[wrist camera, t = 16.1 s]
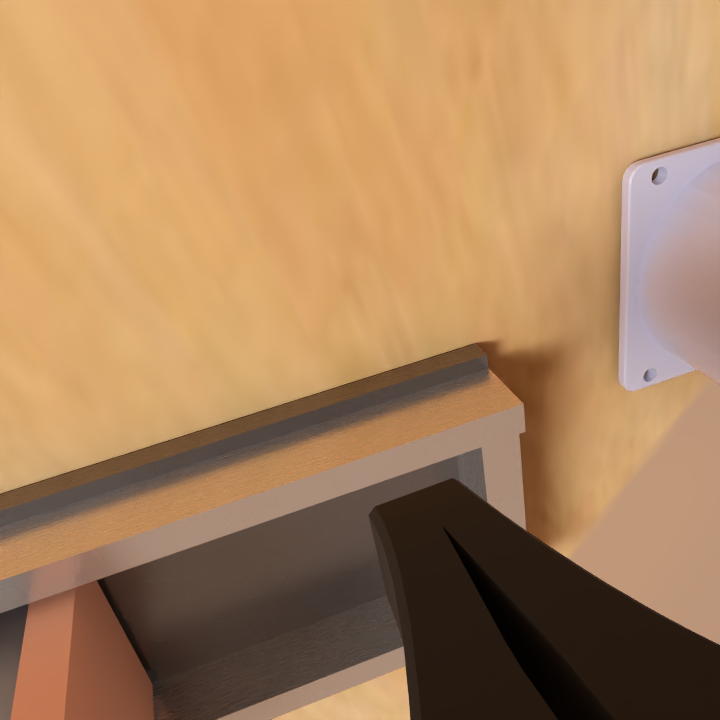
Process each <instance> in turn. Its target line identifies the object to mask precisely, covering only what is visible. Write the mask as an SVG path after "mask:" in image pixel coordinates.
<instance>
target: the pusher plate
mask: <svg viewBox="0 0 720 720" xmlns="http://www.w3.org/2000/svg"><path fill="white" fill-rule="evenodd" d="M10 720H154V708H153V684H152V682H151V681H150V679H149V677H148V675H147V673H146V671H145V669H144V668H143V666H142V664H141V662H140V660H139V658H138V656H137V655H136V653H135V651H134V649H133V647H132V645H131V643H130V642H129V640H128V638H127V636H126V634H125V632H124V630H123V629H122V627H121V625H120V623H119V621H118V619H117V617H116V616H115V614H114V612H113V610H112V608H111V606H110V604H109V603H108V601H107V599H106V597H105V595H104V593H103V591H102V590H101V588H100V586H99V584H98V582H97V580H95V581H92V582H90V583H87V584H84V585H81V586H78V587H75V588H72V589H69V590H66V591H64V592H61V593H58V594H55V595H52V596H49V597H46V598H43V599H40V600H37V601H35V602H32V603H29V607H28V613H27V619H26V625H25V632H24V638H23V644H22V650H21V657H20V663H19V669H18V675H17V682H16V688H15V694H14V700H13V707H12V713H11V719H10Z"/></svg>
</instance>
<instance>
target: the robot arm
mask: <svg viewBox="0 0 720 720" xmlns="http://www.w3.org/2000/svg"><path fill="white" fill-rule="evenodd" d="M657 168H658V175H657V177H656V178H655V179H654V180H653V181H652V174H653V172H654V171H655V170H656V169H657ZM647 370H648V372H647V373H646V374H645V372H646V371H647ZM694 370H698V371H700V372H701V373H703V374H704V375H706V376H708V377H709V378H711V379H712V380H714V381H715V382H717V383H718V384H720V138H717V139H714V140H710V141H707V142H703V143H700V144H696V145H692V146H689V147H685V148H682V149H678V150H675V151H671V152H668V153H664V154H660V155H657V156H653V157H650V158H646V159H643V160H639V161H636V162H634V163H632V164H631V165H630V166H629V167H628V168H627V170H626V171H625V173H624V175H623V181H622V221H621V273H620V324H619V375H618V379H619V383H620V385H621V386H622V387H624V388H625V389H626V390H628V391H636V390H639V389H642V388H645V387H648V386H651V385H654V384H657V383H660V382H663V381H665V380H668V379H671V378H674V377H677V376H680V375H683V374H686V373H689V372H692V371H694ZM644 374H645V375H644ZM369 520H370V524H371V529H372V533H373V537H374V542H375V546H376V550H377V555H378V559H379V564H380V568H381V572H382V577H383V581H384V585H385V590H386V594H387V599H388V602H389V604H390V607H391V610H392V612H393V615H394V617H395V620H396V623H397V626H398V629H399V632H400V635H401V638H402V641H403V646H404V655H405V665H406V674H407V684H408V693H409V705H410V719H411V720H720V645H719V644H717V643H715V642H713V641H710V640H708V639H707V638H705V637H703V636H701V635H699V634H697V633H695V632H692V631H691V630H689V629H687V628H685V627H683V626H681V625H679V624H678V623H676V622H674V621H672V620H670V619H668V618H666V617H665V616H663V615H661V614H659V613H657V612H655V611H654V610H652V609H650V608H648V607H646V606H645V605H643V604H641V603H640V602H638V601H636V600H634V599H633V598H631V597H629V596H628V595H626V594H624V593H623V592H621V591H619V590H617V589H616V588H614V587H612V586H611V585H609V584H607V583H606V582H604V581H602V580H601V579H599V578H598V577H595V576H594V575H593V574H591V573H589V572H588V571H586V570H585V569H583V568H582V567H580V566H579V565H577V564H575V563H574V562H572V561H571V560H569V559H568V558H566V557H565V556H563V555H562V554H560V553H559V552H557V551H556V550H554V549H553V548H551V547H549V546H548V545H546V544H545V543H543V542H542V541H541V540H539V539H538V538H536V537H535V536H533V535H532V534H530V533H529V532H527V531H526V530H525V529H523V528H522V527H520V526H519V525H518V524H516V523H515V522H513V521H512V520H511V519H509V518H508V517H506V516H505V515H504V514H502V513H501V512H500V511H498V510H497V509H495V508H494V507H493V506H491V505H490V504H489V503H487V502H486V501H485V500H483V499H482V498H481V497H479V496H478V495H477V494H475V493H474V492H473V491H472V490H470V489H469V488H468V487H466V486H465V485H464V484H462V483H461V482H460V481H458V480H456V479H454V478H451V479H448V480H446V481H443V482H440V483H437V484H435V485H432V486H429V487H426V488H424V489H421V490H418V491H416V492H413V493H410V494H407V495H405V496H402V497H399V498H397V499H394V500H391V501H388V502H386V503H383V504H380V505H377V506H375V507H374V508H373V510H372V511H371V512H370V514H369Z"/></svg>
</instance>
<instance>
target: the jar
mask: <svg viewBox="0 0 720 720" xmlns="http://www.w3.org/2000/svg"><path fill="white" fill-rule="evenodd" d="M28 607H29V604H26V605H23V606H20V607H17V608H14V609H11V610H9V611H6V612H3V613H0V720H10V719H11V713H12V707H13V700H14V694H15V688H16V682H17V675H18V669H19V663H20V657H21V650H22V644H23V638H24V632H25V625H26V619H27V613H28Z"/></svg>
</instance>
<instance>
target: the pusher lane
mask: <svg viewBox="0 0 720 720" xmlns="http://www.w3.org/2000/svg"><path fill="white" fill-rule="evenodd" d="M524 432H526V431H525V416H524V404H523V403H522V402H521V401H520V400H519V398H518V397H517V396H516V395H515V394H514V393H513V392H512V391H511V390H510V389H509V388H508V387H507V386H506V385H505V384H504V383H503V382H502V381H501V380H500V379H499V378H498V377H497V376H496V375H495V374H494V373H493V372H492V371H491V370H490V369H489V366H488V355H487V354H486V353H485V352H484V351H483V350H482V349H481V348H480V347H479V346H478V345H477V344H473V345H470V346H466V347H463V348H460V349H457V350H454V351H451V352H447V353H444V354H441V355H438V356H435V357H432V358H429V359H425V360H422V361H419V362H416V363H413V364H410V365H407V366H403V367H400V368H397V369H394V370H391V371H388V372H384V373H381V374H378V375H375V376H372V377H369V378H366V379H362V380H359V381H356V382H353V383H350V384H347V385H343V386H340V387H337V388H334V389H331V390H328V391H325V392H321V393H318V394H315V395H312V396H309V397H306V398H302V399H299V400H296V401H293V402H290V403H287V404H284V405H280V406H277V407H274V408H271V409H268V410H265V411H261V412H258V413H255V414H252V415H249V416H246V417H243V418H239V419H236V420H233V421H230V422H227V423H224V424H221V425H217V426H214V427H211V428H208V429H205V430H202V431H198V432H195V433H192V434H189V435H186V436H183V437H180V438H176V439H173V440H170V441H167V442H164V443H161V444H157V445H154V446H151V447H148V448H145V449H142V450H139V451H135V452H132V453H129V454H126V455H123V456H120V457H116V458H113V459H110V460H107V461H104V462H101V463H98V464H94V465H91V466H88V467H85V468H82V469H79V470H76V471H72V472H69V473H66V474H63V475H60V476H57V477H53V478H50V479H47V480H44V481H41V482H38V483H35V484H31V485H28V486H25V487H22V488H19V489H16V490H12V491H9V492H6V493H3V494H0V613H3V612H6V611H9V610H11V609H14V608H17V607H20V606H23V605H26V604H29V603H32V602H35V601H37V600H40V599H43V598H46V597H49V596H52V595H55V594H58V593H61V592H64V591H66V590H69V589H72V588H75V587H78V586H81V585H84V584H87V583H90V582H92V581H95V580H97V582H98V584H99V586H100V588H101V590H102V591H103V593H104V595H105V597H106V599H107V601H108V603H109V604H110V606H111V608H112V610H113V612H114V614H115V616H116V617H117V619H118V621H119V623H120V625H121V627H122V629H123V630H124V632H125V634H126V636H127V638H128V640H129V642H130V643H131V645H132V647H133V649H134V651H135V653H136V655H137V656H138V658H139V660H140V662H141V664H142V666H143V668H144V669H145V671H146V673H147V675H148V677H149V679H150V681H151V682H152V684H153V708H154V720H271V719H273V718H276V717H278V716H281V715H283V714H286V713H288V712H291V711H293V710H296V709H298V708H301V707H304V706H306V705H309V704H311V703H314V702H316V701H319V700H321V699H324V698H326V697H329V696H331V695H334V694H336V693H339V692H341V691H344V690H346V689H349V688H351V687H354V686H357V685H359V684H362V683H364V682H367V681H369V680H372V679H374V678H377V677H379V676H382V675H384V674H387V673H389V672H392V671H394V670H397V669H399V668H402V667H405V666H406V665H405V655H404V646H403V641H402V638H401V635H400V632H399V629H398V626H397V623H396V620H395V617H394V615H393V612H392V610H391V607H390V604H389V602H388V599H387V594H386V590H385V585H384V581H383V577H382V572H381V568H380V564H379V559H378V555H377V550H376V546H375V542H374V537H373V533H372V529H371V524H370V520H369V514H370V512H371V511H372V510H373V508H374V507H375V506H377V505H380V504H383V503H386V502H388V501H391V500H394V499H397V498H399V497H402V496H405V495H407V494H410V493H413V492H416V491H418V490H421V489H424V488H426V487H429V486H432V485H435V484H437V483H440V482H443V481H446V480H448V479H451V478H454V479H456V480H458V481H460V482H461V483H462V484H464V485H465V486H466V487H468V488H469V489H470V490H472V491H473V492H474V493H475V494H477V495H478V496H479V497H481V498H482V499H483V500H485V501H486V502H487V503H489V504H490V505H491V506H493V507H494V508H495V509H497V510H498V511H500V512H501V513H502V514H504V515H505V516H506V517H508V518H509V519H511V520H512V521H513V522H515V523H516V524H518V525H519V526H520V527H522V528H523V529H525V530H526V520H525V506H524V492H523V478H522V464H521V450H520V436H519V434H521V433H524Z"/></svg>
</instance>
